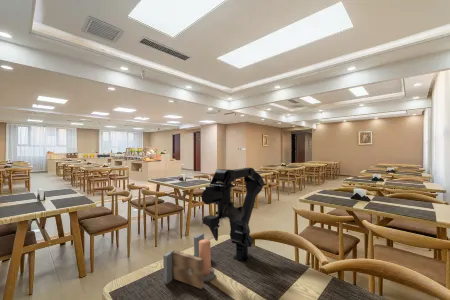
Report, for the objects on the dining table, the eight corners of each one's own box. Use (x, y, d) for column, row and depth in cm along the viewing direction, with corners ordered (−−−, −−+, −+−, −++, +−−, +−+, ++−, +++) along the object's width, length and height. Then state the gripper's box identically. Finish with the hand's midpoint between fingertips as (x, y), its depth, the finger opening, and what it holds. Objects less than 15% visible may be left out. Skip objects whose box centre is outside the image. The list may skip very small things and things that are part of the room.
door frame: (201, 254, 101) (201, 232, 101) (204, 255, 100) (204, 233, 100) (164, 282, 80) (163, 255, 80) (166, 284, 79) (166, 256, 79)
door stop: (205, 269, 88) (205, 236, 88) (218, 275, 84) (217, 241, 84) (192, 276, 83) (191, 242, 83) (204, 284, 78) (204, 247, 78)
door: (168, 278, 82) (167, 252, 82) (172, 275, 84) (172, 249, 84) (199, 290, 74) (198, 261, 74) (203, 286, 77) (203, 258, 77)
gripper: (220, 207, 76) (221, 251, 76) (253, 198, 89) (254, 236, 89) (201, 202, 84) (202, 241, 84) (234, 194, 97) (235, 229, 97)
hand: (225, 237), depth 88 cm, fingers open, 9 cm apart
